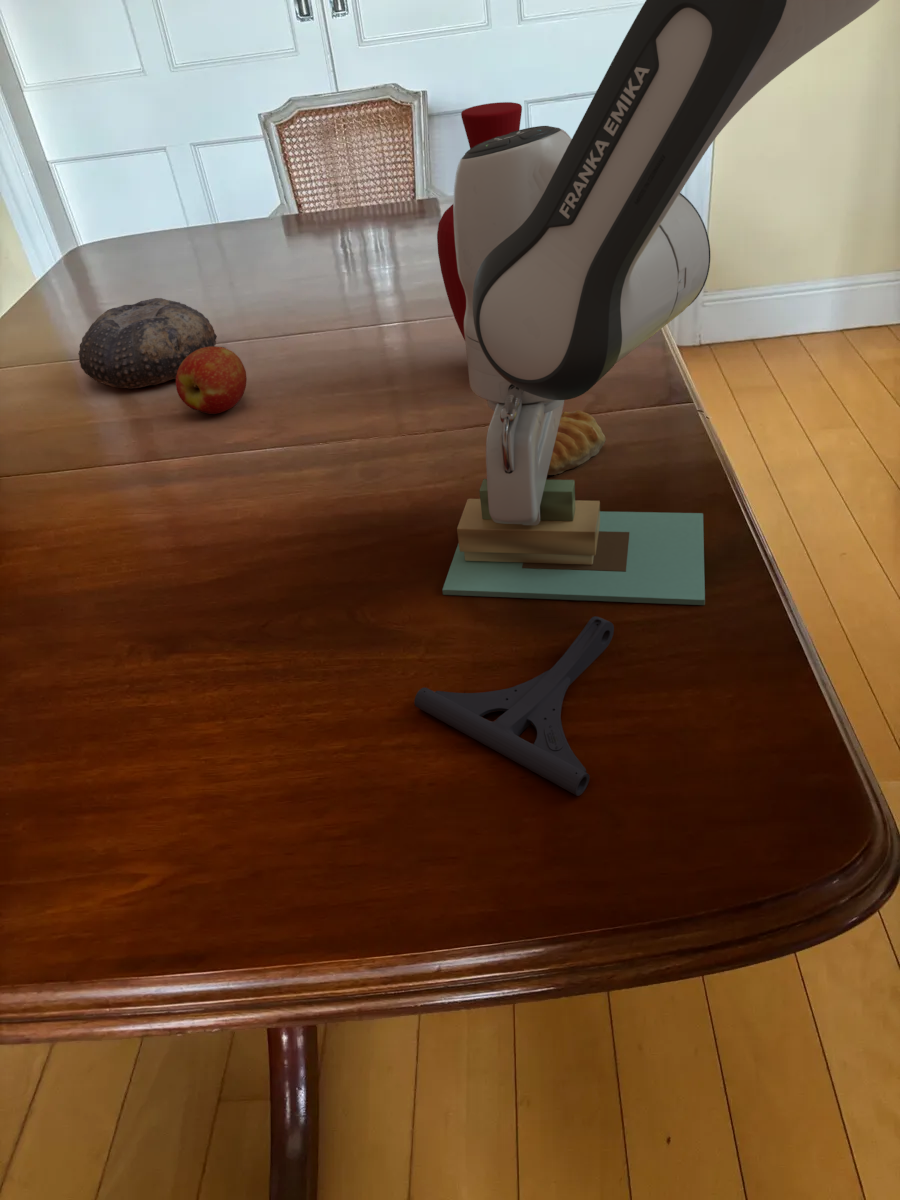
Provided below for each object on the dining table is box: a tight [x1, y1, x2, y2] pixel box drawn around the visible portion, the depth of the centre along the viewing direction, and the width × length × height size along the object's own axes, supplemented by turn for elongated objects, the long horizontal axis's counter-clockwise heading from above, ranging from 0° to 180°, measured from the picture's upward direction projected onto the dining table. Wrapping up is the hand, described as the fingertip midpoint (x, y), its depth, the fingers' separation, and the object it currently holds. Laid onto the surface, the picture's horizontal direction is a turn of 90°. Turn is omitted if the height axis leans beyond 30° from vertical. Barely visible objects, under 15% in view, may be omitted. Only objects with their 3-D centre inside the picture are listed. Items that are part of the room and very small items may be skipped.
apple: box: [175, 346, 248, 415], centre depth 112 cm, size 8×8×8 cm
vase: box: [436, 101, 523, 341], centre depth 104 cm, size 15×15×30 cm
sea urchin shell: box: [78, 297, 218, 390], centre depth 125 cm, size 19×19×10 cm
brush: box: [456, 478, 601, 565], centre depth 79 cm, size 12×5×7 cm, turn 78°
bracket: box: [413, 616, 615, 797], centre depth 66 cm, size 14×15×3 cm
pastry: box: [547, 410, 607, 476], centre depth 93 cm, size 9×7×4 cm
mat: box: [441, 510, 706, 606], centre depth 80 cm, size 22×13×1 cm, turn 78°
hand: (533, 509), depth 78 cm, fingers closed on brush
